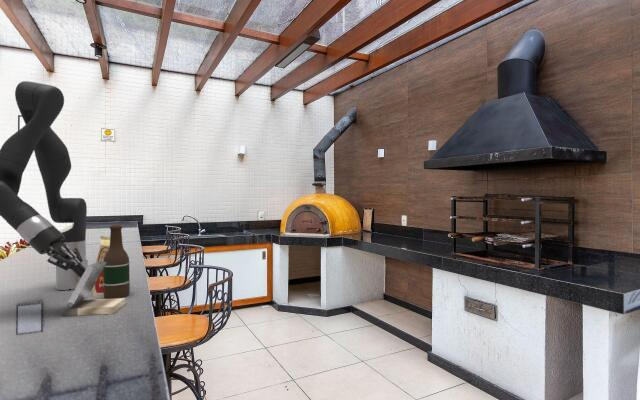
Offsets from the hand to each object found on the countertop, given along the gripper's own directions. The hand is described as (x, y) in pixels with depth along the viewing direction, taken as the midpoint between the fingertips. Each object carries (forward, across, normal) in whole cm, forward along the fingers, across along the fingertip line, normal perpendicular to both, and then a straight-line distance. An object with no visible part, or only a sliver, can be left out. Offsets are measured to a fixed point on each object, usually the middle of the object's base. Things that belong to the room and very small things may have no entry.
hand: (86, 276), depth 107 cm
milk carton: (+6, -23, -9) cm, 26 cm away
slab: (+4, 0, -7) cm, 8 cm away
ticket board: (+9, 0, -5) cm, 11 cm away
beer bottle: (+9, -16, -5) cm, 19 cm away
